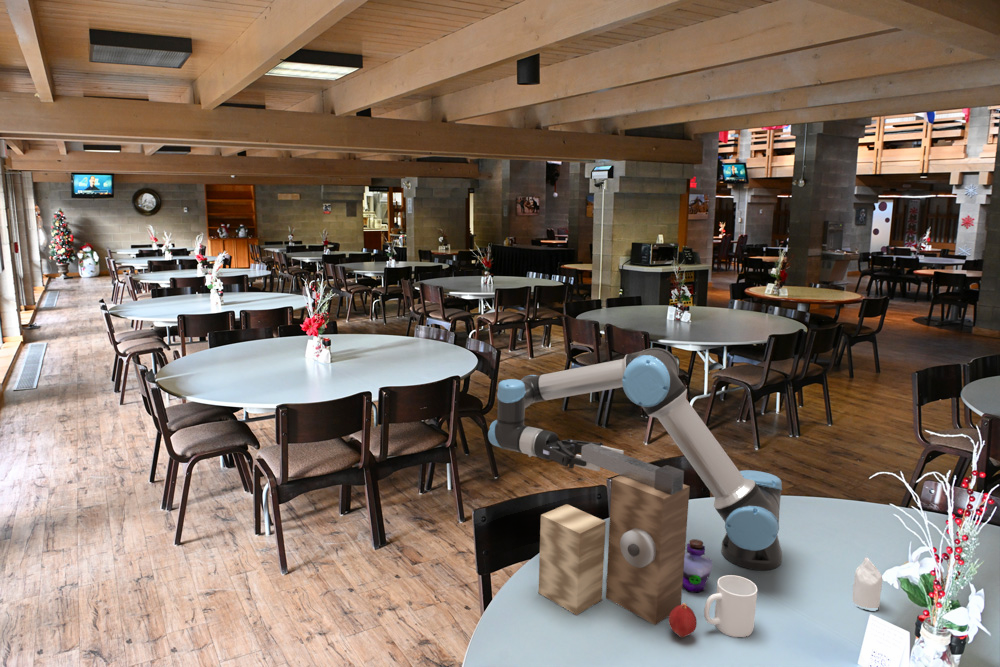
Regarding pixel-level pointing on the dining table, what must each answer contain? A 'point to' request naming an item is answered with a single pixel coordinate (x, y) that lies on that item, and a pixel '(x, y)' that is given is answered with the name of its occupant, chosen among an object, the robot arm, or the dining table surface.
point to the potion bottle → (696, 567)
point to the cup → (733, 606)
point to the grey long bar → (635, 468)
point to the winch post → (646, 548)
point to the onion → (682, 620)
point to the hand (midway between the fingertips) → (611, 460)
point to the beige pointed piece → (867, 585)
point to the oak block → (571, 558)
